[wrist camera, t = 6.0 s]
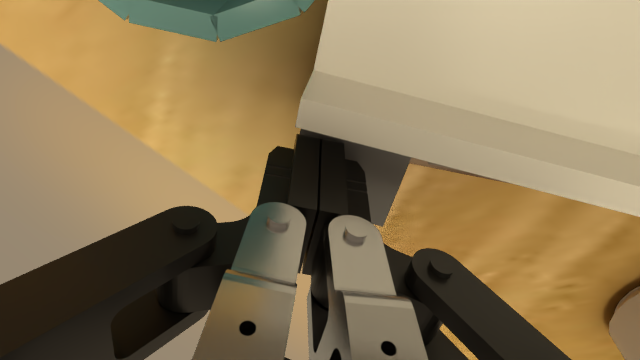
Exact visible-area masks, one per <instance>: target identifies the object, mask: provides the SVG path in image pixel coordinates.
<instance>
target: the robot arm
mask: <svg viewBox="0 0 640 360" xmlns="http://www.w3.org/2000/svg"><path fill="white" fill-rule="evenodd" d="M302 263H303V271H302V273H303V274H307V275H311V286H310V290H309V293H308V296H307V314H308V343H309V360H469V359H468V358H467V357H466V356H465V355H464V354H463V353H462V352H461V351H460V350H459V349H458V348H457V347H456V346H455V345H454V344H453V343H452V342H451V341H450V340H449V339H448V338H447V337H446V336H445V335H444V334H443V333H442V332H441V331H440V330H439V328H440V327H441V325H442V324H444V325H445V326H446V327H447V328H448V329H449V330H450V331H451V332H452V333H453V334H454V335H455V336H456V337H457V338H458V339H459V340H460V341H461V342H462V343H463V344H464V345H465V346H466V347H467V348H468V349H469V350H470V351H471V352H472V353H473V354H474V355H475V356H476V357H477V358H478V359H479V360H571V359H570V358H569V357H568V356H566V355H565V354H564V353H563V352H562V351H561V350H560V349H558V348H557V347H556V346H555V345H554V344H553V343H552V342H550V341H549V340H548V339H547V338H546V337H545V336H544V335H542V334H541V333H540V332H539V331H538V330H537V329H535V328H534V327H533V326H532V325H531V324H530V323H529V322H527V321H526V320H525V319H524V318H523V317H522V316H521V315H519V314H518V313H517V312H516V311H515V310H514V309H513V308H511V307H510V306H509V305H508V304H507V303H506V302H504V301H503V300H502V299H501V298H500V297H499V296H498V295H496V294H495V293H494V292H493V291H492V290H491V289H490V288H488V287H487V286H486V285H485V284H484V283H483V282H481V281H480V280H479V279H478V278H477V277H476V276H475V275H473V274H472V273H471V272H470V271H469V270H468V269H467V268H465V267H464V266H463V265H462V264H461V263H460V262H459V261H457V260H456V259H455V258H454V257H452V256H451V255H449V254H447V253H445V252H443V251H440V250H437V249H431V248H426V249H421V250H419V251H417V252H416V253H415V254H414V256H413V257H410V256H408V255H406V254H403V253H401V252H398V251H396V250H394V249H392V248H390V247H389V246H387V245H386V244H384V243H383V240H382V237H381V234H380V232H379V230H378V229H377V228H376V227H375V226H374V225H373V224H372V223H371V216H370V208H369V200H368V193H367V185H366V177H365V171H364V170H363V169H362V167H361V166H360V164H359V163H358V162H357V161H353V160H348V159H345V149H344V143H341V142H336V141H331V140H326V139H321V140H320V138H315V137H310V136H305V135H300V134H297V136H296V140H295V145H294V149H290V148H285V147H280V146H277V147H276V148H275V149H274V150H273V151H271V152H270V153H269V155H268V160H267V164H266V168H265V173H264V177H263V182H262V186H261V190H260V195H259V199H258V203H257V207H256V208H255V209H254V210H253V211H252V213H251V215H249V216H248V217H246V218H244V219H242V220H239V221H234V222H225V223H217V222H216V219H215V218H214V217H213V216H212V215H211V214H210V213H209V212H207V211H205V210H204V209H201V208H198V207H193V206H180V207H175V208H171V209H168V210H166V211H164V212H161V213H159V214H157V215H155V216H153V217H151V218H148V219H146V220H144V221H142V222H139V223H137V224H135V225H132V226H131V227H128V228H126V229H124V230H121V231H119V232H117V233H115V234H112V235H110V236H108V237H106V238H103V239H101V240H99V241H97V242H95V243H92V244H90V245H88V246H86V247H84V248H81V249H79V250H77V251H74V252H72V253H70V254H68V255H66V256H63V257H61V258H59V259H57V260H54V261H52V262H50V263H48V264H45V265H43V266H41V267H39V268H37V269H34V270H32V271H30V272H28V273H26V274H23V275H21V276H19V277H16V278H14V279H12V280H10V281H8V282H5V283H3V284H1V285H0V360H144V359H145V358H147V357H148V356H149V355H151V354H152V353H154V352H155V351H156V350H158V349H159V348H161V347H162V346H164V345H165V344H166V343H168V342H169V341H171V340H172V339H173V338H175V337H176V336H178V335H179V334H180V333H182V332H183V331H185V330H186V329H188V328H189V327H190V326H192V325H193V324H195V323H196V322H197V321H199V320H200V319H201V318H202V317H204V316H205V315H206V313H207V312H208V310H210V313H209V316H208V318H207V321H206V323H205V326H204V329H203V331H202V334H201V337H200V339H199V342H198V344H197V347H196V350H195V352H194V355H193V358H192V360H290V359H288V358H285V357H284V356H285V351H286V345H287V339H288V334H289V328H290V322H291V317H292V311H293V306H294V300H295V294H296V288H297V284H296V279H297V274H298V273H300V271H301V267H302Z"/></svg>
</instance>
